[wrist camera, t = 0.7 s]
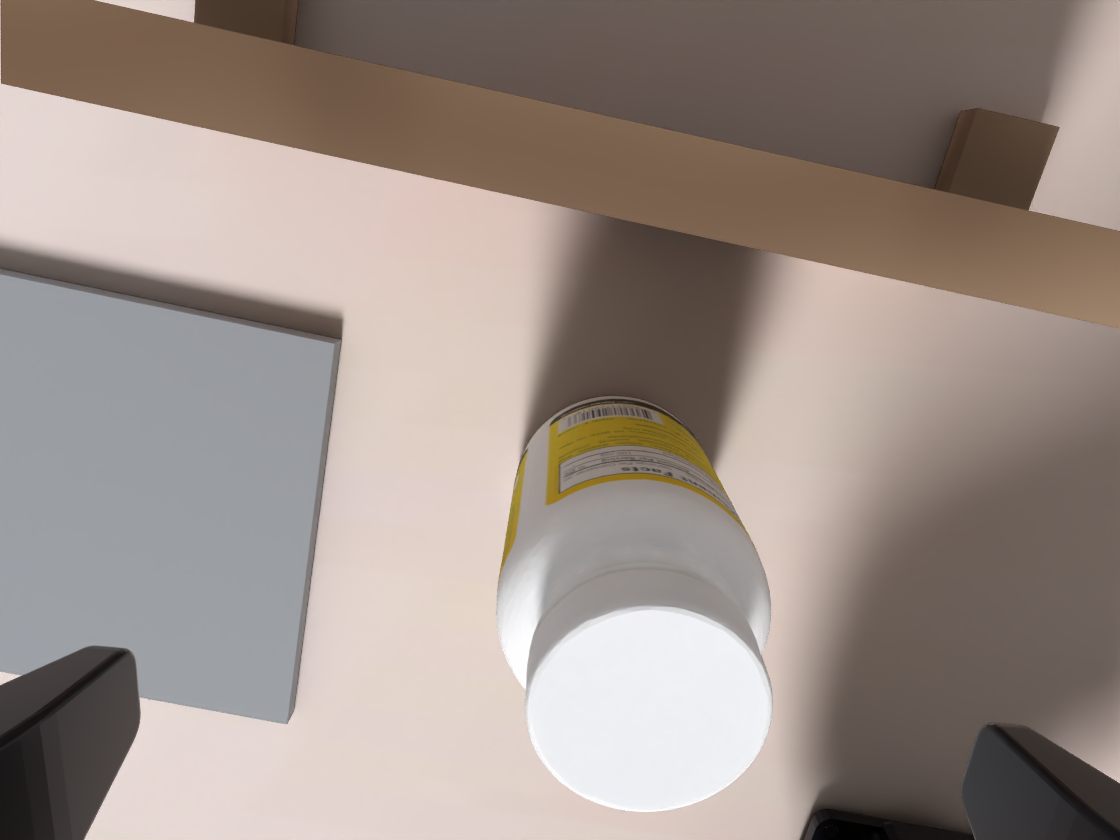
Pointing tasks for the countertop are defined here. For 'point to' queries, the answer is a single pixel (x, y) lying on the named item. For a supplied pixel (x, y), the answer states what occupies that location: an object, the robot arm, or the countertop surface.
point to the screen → (580, 151)
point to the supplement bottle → (633, 609)
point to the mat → (159, 490)
